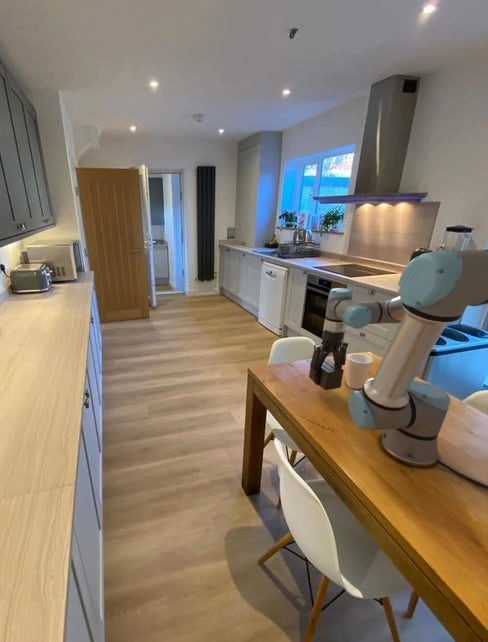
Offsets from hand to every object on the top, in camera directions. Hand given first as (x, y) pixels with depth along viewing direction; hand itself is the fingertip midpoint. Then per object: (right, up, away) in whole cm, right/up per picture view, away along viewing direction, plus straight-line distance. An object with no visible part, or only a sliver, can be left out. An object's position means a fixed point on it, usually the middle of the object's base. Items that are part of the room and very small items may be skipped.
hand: (324, 382), depth 132 cm
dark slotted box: (0, 0, +1) cm, 1 cm away
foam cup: (+17, -2, +9) cm, 19 cm away
